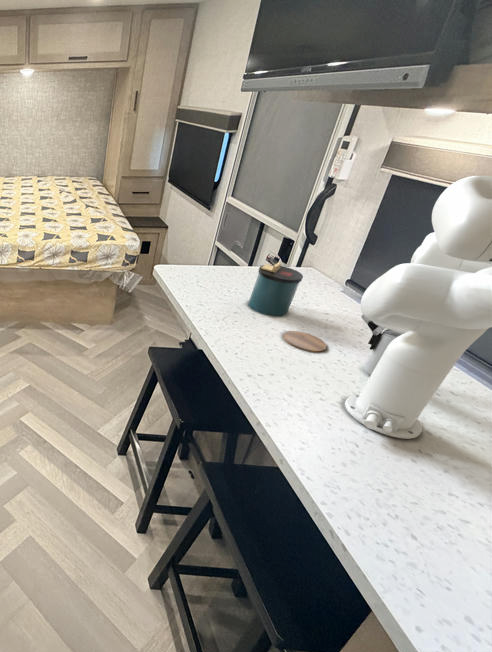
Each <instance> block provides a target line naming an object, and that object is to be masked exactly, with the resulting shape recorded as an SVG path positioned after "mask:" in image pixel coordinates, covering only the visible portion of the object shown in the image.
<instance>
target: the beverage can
mask: <svg viewBox="0 0 492 652" xmlns="http://www.w3.org/2000/svg"><path fill="white" fill-rule="evenodd" d="M381 333H382V334H381V336H380V338H379V340H378V342H377V344H376V345H375V347H374V349H372V350H371V353H370V354H369V357H368V358H367V360H366V362H365V363H364V365H363V367H362V369H363V372H365V374H367V376H369V377H370V376H371V374H372V372H373V371H374V369H375V367H376V365H377V364H378V362H379V360H380V358H381V357H382V355H383V353H384V351H385V350H386V348H387V346H388V345H389V343H390V342H391V341H392V340H394V339H395V338H396V337H398V336H400V335H402V334H403V333H399V332H396V331H393V330H390V329H386V328H385V329H384V330H383V331H382V332H381Z"/></svg>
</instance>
